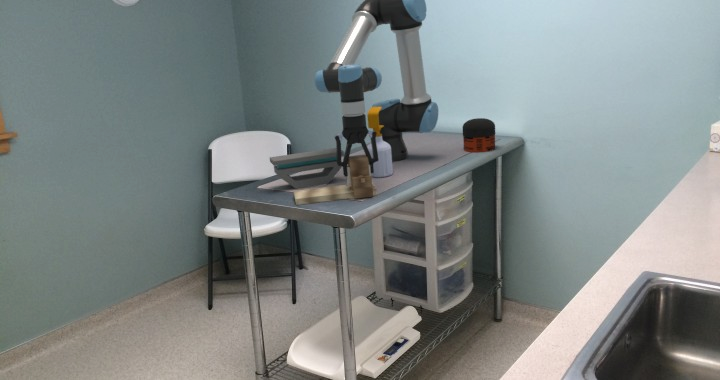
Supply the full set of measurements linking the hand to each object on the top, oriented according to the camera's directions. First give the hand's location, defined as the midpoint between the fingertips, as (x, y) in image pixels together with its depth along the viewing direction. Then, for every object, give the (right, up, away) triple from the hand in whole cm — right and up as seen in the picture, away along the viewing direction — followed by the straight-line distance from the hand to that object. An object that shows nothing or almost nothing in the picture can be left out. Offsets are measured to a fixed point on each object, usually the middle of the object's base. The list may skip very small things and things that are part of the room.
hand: (359, 184), depth 203 cm
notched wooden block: (+1, -3, -2) cm, 4 cm away
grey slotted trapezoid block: (-18, 0, +18) cm, 25 cm away
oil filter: (+49, +15, +50) cm, 72 cm away
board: (-8, -4, 0) cm, 9 cm away
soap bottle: (+8, +4, +22) cm, 24 cm away
